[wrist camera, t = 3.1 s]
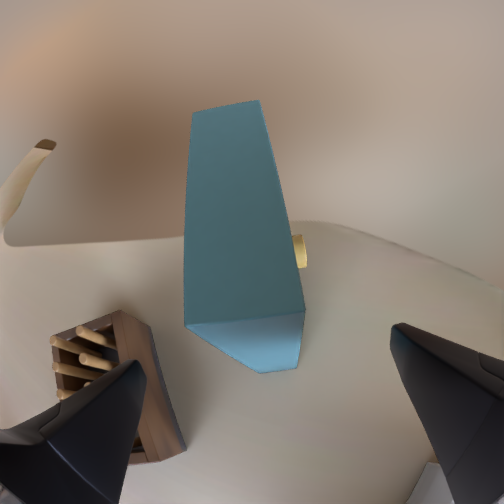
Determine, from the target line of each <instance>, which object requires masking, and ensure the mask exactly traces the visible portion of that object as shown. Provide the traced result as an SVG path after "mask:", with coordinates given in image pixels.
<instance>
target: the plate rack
mask: <svg viewBox="0 0 504 504" xmlns="http://www.w3.org/2000/svg"><path fill="white" fill-rule="evenodd" d="M50 344H51V345H52V353H53V361H54V363H53V365H52V368H53V370H54V371H55V376H56V383H57V389H58V390H57V397H58V398H59V400H60V402H62V401H63V400H64V399H66V398H68V397H69V396H71V395H72V394H74V393H76V392H77V391H79V390H80V389H82V388H84V387H85V386H87V385H88V384H90V383H92V382H93V381H95V380H96V379H98V378H99V377H101V376H103V375H104V374H106V373H107V372H109V371H110V370H112V369H114V368H115V367H117V366H118V365H120V364H121V363H123V362H124V361H126V360H128V359H137V360H139V361H140V363H141V365H142V367H143V370H144V372H145V374H146V376H147V386H146V391H145V397H144V403H143V409H142V414H141V418H140V422H139V425H138V429H137V432H136V436H135V439H134V443H133V447H132V450H131V454H130V458H129V462H128V465H138V464H147V463H155V462H161V461H163V460H166V459H168V458H170V457H173V456H175V455H177V454H180V453H182V452H184V451H186V450H187V448H186V446H185V443H184V440H183V438H182V435H181V432H180V429H179V426H178V424H177V421H176V418H175V415H174V412H173V409H172V406H171V402H170V399H169V396H168V393H167V389H166V386H165V383H164V379H163V376H162V372H161V369H160V365H159V361H158V357H157V353H156V350H155V346H154V341H153V337H152V333H151V329H150V327H149V326H147V325H146V324H144V323H142V322H140V321H139V320H137V319H135V318H133V317H132V316H130V315H128V314H127V313H125V312H123V311H121V310H118V311H115V312H113V313H111V314H108V315H105V316H103V317H100V318H98V319H95V320H92V321H90V322H87V323H85V324H82V325H79V326H77V327H74V328H72V329H69V330H66V331H64V332H61V333H58V334H56V335H52V336H51V337H50Z"/></svg>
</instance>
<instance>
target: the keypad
mask: <svg viewBox="0 0 504 504" xmlns="http://www.w3.org/2000/svg"><path fill="white" fill-rule="evenodd" d="M406 504H455V503H454V500H453V498H452V495H451V492H450V489H449V487H448V484H447V481H446V477H445V476H444V473H443V471H442V468H441V466H440V463H432V462H427V464H426V466H425V468H424V470H423V472H422V474H421V477H420V479H419V480H418V482H417V484H416V486H415V488H414V490H413V492H412V494H411V495H410V497H409V499H408V501H407V502H406ZM497 504H498V503H497Z"/></svg>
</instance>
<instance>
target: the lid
mask: <svg viewBox="0 0 504 504" xmlns="http://www.w3.org/2000/svg"><path fill="white" fill-rule="evenodd" d="M306 266H307V256H306V249H305V244H304V240H303V237H302V235H294V236H292V235H291V230H290V226H289V221H288V217H287V212H286V207H285V203H284V199H283V194H282V189H281V185H280V180H279V176H278V172H277V168H276V164H275V159H274V155H273V151H272V147H271V143H270V139H269V135H268V131H267V127H266V123H265V119H264V115H263V111H262V107H261V104H260V101H259V100H254V101H249V102H242V103H237V104H231V105H226V106H221V107H216V108H212V109H207V110H203V111H198V112H194V113H193V115H192V124H191V134H190V146H189V157H188V172H187V187H186V206H185V232H184V325H185V327H186V328H187V329H189V330H190V331H192V332H193V333H195V334H196V335H198V336H199V337H201V338H202V339H204V340H205V341H207V342H208V343H210V344H212V345H213V346H215V347H216V348H218V349H219V350H221V351H223V352H224V353H226V354H227V355H229V356H231V357H232V358H234V359H236V360H237V361H239V362H241V363H242V364H244V365H246V366H247V367H249V368H251V369H252V370H254V371H256V372H258V373H267V372H275V371H282V370H289V369H295V368H297V363H298V357H299V351H300V344H301V338H302V331H303V325H304V318H305V310H306V308H305V303H304V297H303V292H302V286H301V281H300V276H299V270H298V269H299V268H305V267H306Z"/></svg>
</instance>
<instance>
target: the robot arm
mask: <svg viewBox="0 0 504 504" xmlns="http://www.w3.org/2000/svg"><path fill="white" fill-rule="evenodd" d="M390 350H391V353H392V355H393V358H394V361H395V363H396V366H397V369H398V371H399V374H400V377H401V380H402V382H403V385H404V387H405V389H406V391H407V393H408V395H409V397H410V399H411V401H412V403H413V405H414V407H415V409H416V412H417V414H418V416H419V418H420V420H421V422H422V424H423V427H424V429H425V431H426V433H427V435H428V438H429V440H430V442H431V444H432V447H433V449H434V451H435V454H436V456H437V459H438V461H439V463H440V466H441V468H442V471H443V473H444V476H445V477H446V481H447V484H448V487H449V489H450V492H451V495H452V498H453V500H454V503H455V504H497V503H498V504H504V361H503V360H499V359H496V358H493V357H491V356H488V355H485V354H483V353H480V352H479V353H478V352H477V351H475V350H472V349H470V348H467V347H464V346H462V345H459V344H457V343H454V342H452V341H449V340H446V339H444V338H441V337H439V336H436V335H434V334H431V333H428V332H426V331H423V330H421V329H418V328H416V327H413V326H411V325H408V324H406V323H399V324H395V325H393V326H392V328H391V338H390ZM146 386H147V376H146V374H145V372H144V370H143V367H142V365H141V363H140V361H139V360H137V359H128V360H126V361H124V362H123V363H121V364H120V365H118V366H117V367H115V368H114V369H112V370H110V371H109V372H107V373H106V374H104V375H103V376H101V377H99V378H98V379H96V380H95V381H93V382H92V383H90V384H88V385H87V386H85V387H84V388H82V389H80V390H79V391H77V392H76V393H74V394H72V395H71V396H69V397H68V398H66V399H64V400H63V401H62V402H59V403H58V404H56V405H55V406H53V407H51V408H49V409H48V410H46V411H44V412H42V413H41V414H39V415H37V416H35V417H33V418H31V419H29V420H27V421H25V422H23V423H21V424H19V425H17V426H15V427H12V428H9V429H0V504H119V499H120V495H121V491H122V486H123V482H124V478H125V474H126V470H127V466H128V462H129V458H130V454H131V450H132V447H133V443H134V439H135V436H136V432H137V429H138V425H139V422H140V418H141V414H142V409H143V403H144V397H145V391H146Z"/></svg>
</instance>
